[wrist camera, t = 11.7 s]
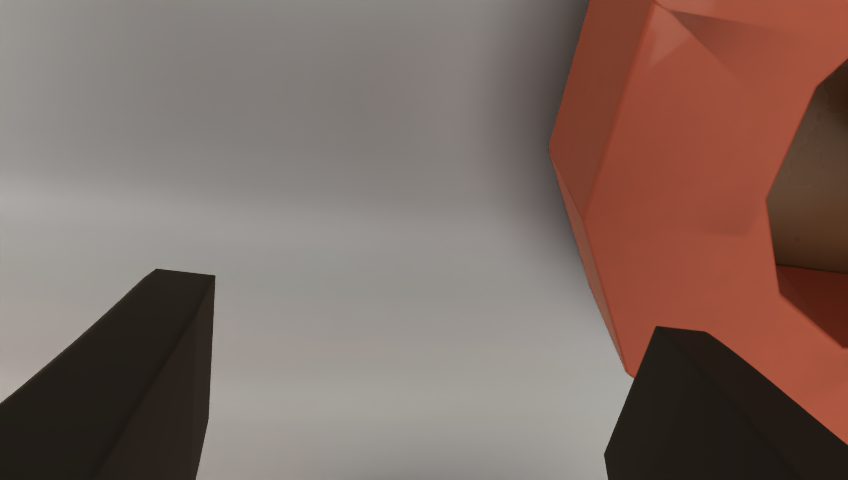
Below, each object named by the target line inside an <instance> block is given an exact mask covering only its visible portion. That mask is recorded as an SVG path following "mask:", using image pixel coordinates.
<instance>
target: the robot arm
mask: <svg viewBox="0 0 848 480" xmlns="http://www.w3.org/2000/svg"><path fill="white" fill-rule="evenodd" d="M214 295H215V275H207V274H198V273H189V272H180V271H172V270H163V269H155V270H154V271H153V272H151V273H150V274H148V275H147V276H145V277H144V278H143V279H142V280H141V281H140V282H139V283H138V284H137V285H136V286H135V287H134V288H132V289H131V290H130V291H129V292H128V293H127V294H126V295H125V296H124V297H123V298H122V299H121V300H120V301H119V302H117V303H116V304H115V305H114V306H113V307H112V308H111V309H110V310H109V311H108V312H107V313H106V314H104V315H103V316H102V317H101V318H100V319H99V320H98V321H97V322H96V323H94V324H93V325H92V326H91V327H90V328H89V329H88V330H87V331H86V332H84V333H83V334H82V335H81V336H80V337H79V338H78V339H77V340H75V341H74V342H73V343H72V344H71V345H70V346H69V347H67V348H66V349H65V350H64V351H63V352H61V353H60V354H59V355H58V356H57V357H56V358H54V359H53V360H52V361H51V362H50V363H48V364H47V365H46V366H45V367H44V368H42V369H41V370H40V371H39V372H38V373H37V374H35V375H34V376H33V377H32V378H31V379H29V380H28V381H27V382H26V383H25V384H24V385H22V386H21V387H20V388H19V389H18V390H16V391H15V392H14V393H13V394H11V395H10V396H9V397H8V398H6V399H5V400H4V401H3V402H1V403H0V480H196V475H197V471H198V466H199V462H200V457H201V452H202V448H203V443H204V438H205V433H206V429H207V424H208V419H209V398H210V378H211V357H212V336H213V316H214ZM604 457H605V463H606V469H607V475H608V480H848V445H847V444H846V443H845V442H843V441H842V440H841V439H840V438H839V437H837V436H836V435H835V434H834V433H832V432H831V431H830V430H829V429H828V428H826V427H825V426H824V425H823V424H822V423H820V422H819V421H818V420H817V419H816V418H814V417H813V416H812V415H811V414H810V413H808V412H807V411H806V410H805V409H804V408H802V407H801V406H800V405H799V404H798V403H796V402H795V401H794V400H793V399H792V398H790V397H789V396H788V395H787V394H786V393H784V392H783V391H782V390H781V389H780V388H778V387H777V386H776V385H775V384H774V383H772V382H771V381H770V380H769V379H767V378H766V377H765V376H764V375H763V374H761V373H760V372H759V371H758V370H756V369H755V368H754V367H753V366H751V365H750V364H749V363H748V362H747V361H745V360H744V359H743V358H741V357H740V356H739V355H738V354H736V353H735V352H734V351H733V350H731V349H730V348H729V347H727V346H726V345H725V344H723V343H722V342H720V341H719V340H718V339H716V338H715V337H713V336H712V335H710V334H709V333H707V332H706V331H697V330H689V329H680V328H671V327H662V326H656V327H655V329H654V332H653V334H652V337H651V339H650V342H649V344H648V347H647V349H646V352H645V354H644V357H643V359H642V361H641V364H640V366H639V369H638V371H637V374H636V376H635V379H634V381H633V384H632V386H631V389H630V391H629V394H628V396H627V399H626V401H625V404H624V406H623V409H622V411H621V414H620V416H619V418H618V421H617V423H616V426H615V428H614V431H613V433H612V436H611V438H610V441H609V443H608V446H607V448H606V451H605V453H604Z"/></svg>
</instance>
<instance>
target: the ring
mask: <svg viewBox="0 0 848 480" xmlns="http://www.w3.org/2000/svg"><path fill="white" fill-rule="evenodd" d="M847 59H848V0H590V1H589V5H588V8H587V12H586V15H585V19H584V23H583V26H582V30H581V33H580V37H579V40H578V44H577V47H576V51H575V55H574V58H573V62H572V65H571V69H570V72H569V76H568V79H567V83H566V87H565V90H564V94H563V97H562V101H561V104H560V108H559V111H558V115H557V119H556V122H555V126H554V129H553V133H552V136H551V140H550V143H549V150H548V151H549V154H550V157H551V160H552V164H553V167H554V170H555V174H556V177H557V180H558V184H559V187H560V190H561V194H562V197H563V200H564V204H565V207H566V210H567V214H568V217H569V220H570V223H571V227H572V230H573V233H574V237H575V240H576V243H577V247H578V250H579V253H580V257H581V260H582V263H583V267H584V270H585V273H586V277H587V280H588V283H589V286H590V289H591V291H592V294H593V296H594V298H595V301H596V303H597V305H598V308H599V310H600V312H601V315H602V317H603V320H604V322H605V324H606V327H607V329H608V331H609V334H610V336H611V338H612V341H613V343H614V345H615V348H616V350H617V352H618V355H619V357H620V360H621V362H622V364H623V367H624V369H625V371H626V372H627V373H628V374H629V375H630V376H631V377H633V378H634V379H635V376H636V374H637V371H638V369H639V366H640V364H641V361H642V359H643V357H644V354H645V352H646V349H647V347H648V344H649V342H650V339H651V337H652V334H653V332H654V329H655V327H656V326H662V327H671V328H680V329H689V330H697V331H706V332H707V333H709V334H710V335H712V336H713V337H715V338H716V339H718V340H719V341H720V342H722V343H723V344H725V345H726V346H727V347H729V348H730V349H731V350H733V351H734V352H735V353H736V354H738V355H739V356H740V357H741V358H743V359H744V360H745V361H747V362H748V363H749V364H750V365H751V366H753V367H754V368H755V369H756V370H758V371H759V372H760V373H761V374H763V375H764V376H765V377H766V378H767V379H769V380H770V381H771V382H772V383H774V384H775V385H776V386H777V387H778V388H780V389H781V390H782V391H783V392H784V393H786V394H787V395H788V396H789V397H790V398H792V399H793V400H794V401H795V402H796V403H798V404H799V405H800V406H801V407H802V408H804V409H805V410H806V411H807V412H808V413H810V414H811V415H812V416H813V417H814V418H816V419H817V420H818V421H819V422H820V423H822V424H823V425H824V426H825V427H826V428H828V429H829V430H830V431H831V432H832V433H834V434H835V435H836V436H837V437H839V438H840V439H841V440H842V441H843V442H845V443H846V444H847V445H848V274H842V273H835V272H827V271H820V270H812V269H804V268H797V267H789V266H782V265H775V258H774V251H773V244H772V237H771V230H770V223H769V216H768V209H767V203H766V199H767V196H768V194H769V192H770V190H771V187H772V185H773V183H774V181H775V179H776V176H777V174H778V172H779V170H780V167H781V165H782V163H783V161H784V159H785V156H786V154H787V152H788V150H789V147H790V145H791V143H792V141H793V139H794V136H795V134H796V132H797V130H798V127H799V125H800V123H801V121H802V119H803V116H804V114H805V112H806V110H807V107H808V105H809V103H810V101H811V99H812V96H813V94H814V92H815V90H816V87H817V86H818V85H819V84H820V83H821V82H822V81H824V80H825V79H826V78H827V77H828V76H829V75H830V74H831V73H832V72H834V71H835V70H836V69H837V68H838V67H839V66H840V65H841V64H842V63H843V62H845V61H846V60H847Z"/></svg>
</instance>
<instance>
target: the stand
mask: <svg viewBox="0 0 848 480" xmlns="http://www.w3.org/2000/svg"><path fill="white" fill-rule="evenodd" d="M766 203H767V209H768V216H769V223H770V230H771V237H772V244H773V251H774V258H775V265H782V266H789V267H797V268H804V269H812V270H820V271H827V272H835V273H842V274H848V59H847V60H846V61H845V62H843V63H842V64H841V65H840V66H839V67H838V68H837V69H836V70H835V71H834V72H832V73H831V74H830V75H829V76H828V77H827V78H826V79H825V80H824V81H822V82H821V83H820V84H819V85H818V86H817V87H816V90H815V92H814V94H813V96H812V99H811V101H810V103H809V105H808V107H807V110H806V112H805V114H804V116H803V119H802V121H801V123H800V125H799V127H798V130H797V132H796V134H795V136H794V139H793V141H792V143H791V145H790V147H789V150H788V152H787V154H786V156H785V159H784V161H783V163H782V165H781V167H780V170H779V172H778V174H777V176H776V179H775V181H774V183H773V185H772V187H771V190H770V192H769V194H768V196H767V199H766Z"/></svg>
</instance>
